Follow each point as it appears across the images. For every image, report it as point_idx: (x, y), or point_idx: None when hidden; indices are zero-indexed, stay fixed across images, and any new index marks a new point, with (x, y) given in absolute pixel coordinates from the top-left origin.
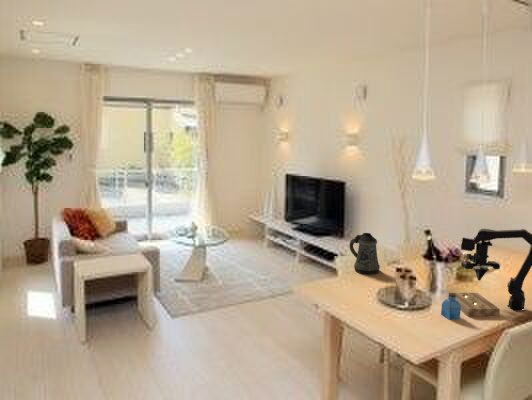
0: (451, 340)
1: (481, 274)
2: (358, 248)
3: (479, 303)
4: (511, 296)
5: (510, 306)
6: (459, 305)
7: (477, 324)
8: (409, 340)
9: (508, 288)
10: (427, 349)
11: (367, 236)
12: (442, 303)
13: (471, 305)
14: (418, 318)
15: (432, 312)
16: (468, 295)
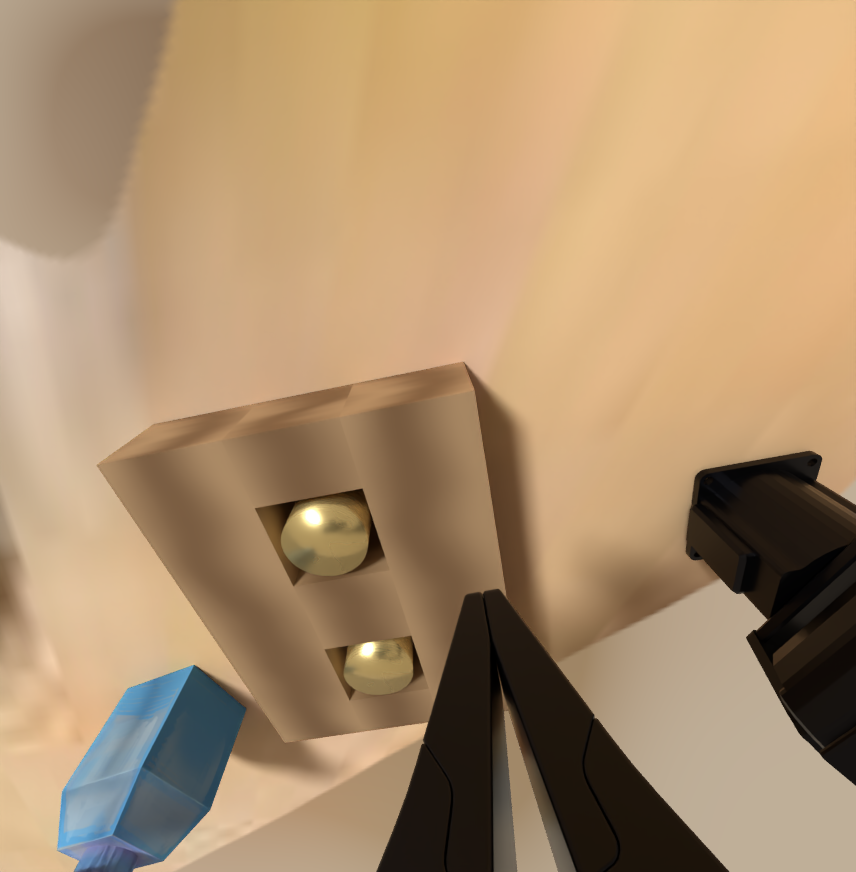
0: (200, 848)
1: (551, 838)
2: None
3: (391, 667)
4: (790, 580)
5: (693, 540)
6: (194, 822)
7: (338, 743)
8: (39, 868)
9: (811, 734)
10: None
11: None
12: (67, 794)
13: (316, 695)
14: (6, 744)
15: (66, 673)
16: (327, 521)
